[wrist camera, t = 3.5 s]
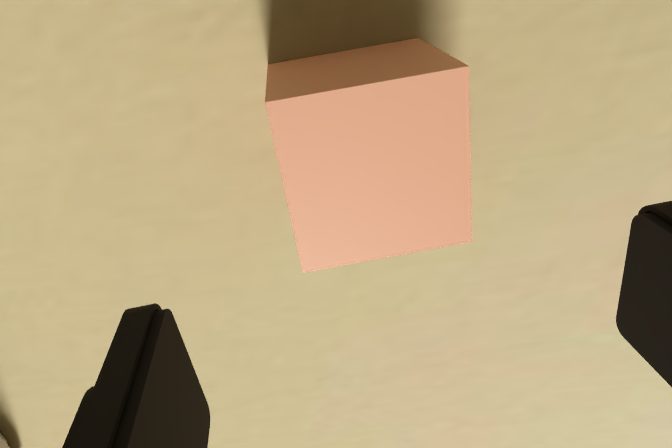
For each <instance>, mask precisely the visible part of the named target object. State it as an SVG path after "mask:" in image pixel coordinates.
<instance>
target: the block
mask: <svg viewBox="0 0 672 448" xmlns="http://www.w3.org/2000/svg"><path fill="white" fill-rule="evenodd" d="M265 104H266V109H267V113H268V118H269V122H270V127H271V132H272V136H273V141H274V145H275V150H276V154H277V159H278V163H279V168H280V172H281V177H282V181H283V186H284V190H285V195H286V199H287V204H288V208H289V213H290V218H291V222H292V227H293V231H294V236H295V240H296V245H297V249H298V254H299V258H300V263H301V267H302V272H303V273H305V272H311V271H316V270H321V269H327V268H332V267H337V266H343V265H348V264H354V263H359V262H364V261H370V260H375V259H380V258H386V257H391V256H396V255H402V254H407V253H413V252H418V251H423V250H429V249H434V248H439V247H445V246H450V245H455V244H461V243H466V242H472V199H471V144H470V89H469V66H468V65H466V64H464V63H463V62H461V61H459V60H457V59H455V58H453V57H452V56H450V55H448V54H446V53H444V52H442V51H441V50H439V49H437V48H435V47H433V46H432V45H430V44H428V43H426V42H424V41H422V40H421V39H419V38H414V39H408V40H403V41H397V42H391V43H386V44H380V45H374V46H369V47H363V48H357V49H352V50H346V51H340V52H335V53H329V54H323V55H318V56H312V57H306V58H301V59H295V60H289V61H284V62H278V63H272V64H268V70H267V83H266V97H265Z"/></svg>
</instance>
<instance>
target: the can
mask: <svg viewBox="0 0 672 448" xmlns="http://www.w3.org/2000/svg"><path fill="white" fill-rule="evenodd" d="M0 448H10V447H9V446H8V443H7V440H6V439H5V438H4V437H3V436H2V434H1V433H0Z"/></svg>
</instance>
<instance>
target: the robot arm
mask: <svg viewBox="0 0 672 448" xmlns="http://www.w3.org/2000/svg"><path fill="white" fill-rule="evenodd" d="M616 323H617V327H618V330H619V332H620V333H621V335H622V336H623V337H624V338H625V339H626V340H627V341H628V342H629V343H630V344H631V345H632V347H633V348H634V349H635V350H636V351H637V352H638V353H639V354H640V355H641V356H642V357H643V358H644V359H645V360H646V361H647V362H648V363H649V364H650V365H651V366H652V367H653V368H654V369H655V370H656V371H657V372H658V373H659V374H660V375H661V377H662V378H663V379H664V380H665V381H666V382H667V383H668V384H669V385H670V386H671V387H672V201H668V202H663V203H658V204H653V205H648V206H645V207H643V208H641V210H640V211H639V213H638V215H636V216H635V217H634V218H633V220H632V223H631V230H630V236H629V242H628V248H627V254H626V260H625V267H624V273H623V279H622V285H621V291H620V297H619V303H618V310H617V316H616ZM209 428H210V412H209V407H208V403H207V401H206V398H205V396H204V393H203V391H202V388H201V385H200V383H199V380H198V378H197V375H196V373H195V370H194V368H193V365H192V363H191V360H190V357H189V355H188V352H187V350H186V347H185V345H184V342H183V340H182V337H181V334H180V332H179V329H178V327H177V324H176V322H175V319H174V317H173V314H172V312H171V311H170V310H169V309H164V310H162V309H161V307H160V306H159V305H158V304H151V305H146V306H141V307H136V308H131V309H127V310H125V312H124V313H123V315H122V318H121V321H120V323H119V326H118V328H117V331H116V333H115V336H114V338H113V341H112V343H111V346H110V348H109V351H108V353H107V356H106V358H105V361H104V364H103V366H102V369H101V371H100V374H99V376H98V379H97V381H96V384H95V386H94V387H91V388H90V389H89V390H87V392H86V393H85V395H84V397H83V399H82V401H81V404H80V406H79V408H78V411H77V413H76V416H75V418H74V421H73V423H72V425H71V428H70V430H69V433H68V435H67V438H66V440H65V442H64V445H63V447H62V448H207V446H208V437H209Z"/></svg>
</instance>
